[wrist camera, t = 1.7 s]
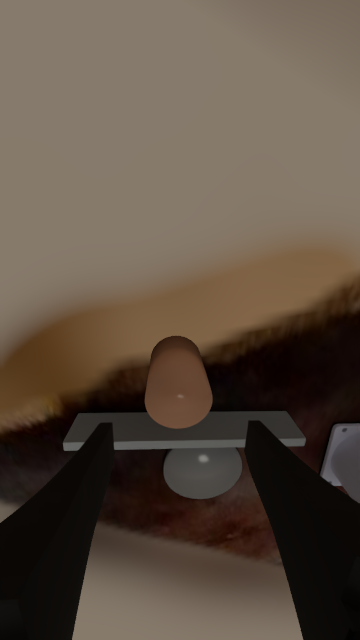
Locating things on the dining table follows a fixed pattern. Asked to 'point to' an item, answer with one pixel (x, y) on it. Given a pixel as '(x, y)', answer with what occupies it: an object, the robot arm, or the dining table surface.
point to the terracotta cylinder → (177, 384)
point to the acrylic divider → (183, 430)
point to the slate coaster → (202, 471)
